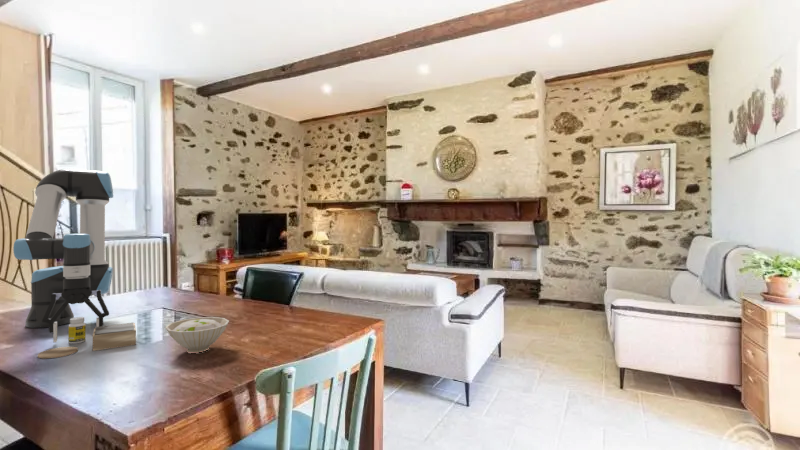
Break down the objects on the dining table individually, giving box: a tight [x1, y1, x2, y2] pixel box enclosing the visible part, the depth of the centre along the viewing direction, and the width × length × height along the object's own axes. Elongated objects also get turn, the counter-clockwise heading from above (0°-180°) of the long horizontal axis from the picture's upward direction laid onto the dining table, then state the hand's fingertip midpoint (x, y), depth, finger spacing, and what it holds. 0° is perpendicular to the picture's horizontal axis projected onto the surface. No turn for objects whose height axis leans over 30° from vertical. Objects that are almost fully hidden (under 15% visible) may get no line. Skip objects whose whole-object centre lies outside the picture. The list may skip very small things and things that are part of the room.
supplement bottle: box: [67, 316, 87, 345], centre depth 142 cm, size 5×5×8 cm
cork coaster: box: [37, 346, 79, 360], centre depth 130 cm, size 10×10×1 cm
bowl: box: [165, 316, 230, 352], centre depth 135 cm, size 19×19×10 cm
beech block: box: [92, 322, 137, 352], centre depth 141 cm, size 12×12×5 cm
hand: (77, 338), depth 142 cm, fingers open, 11 cm apart
